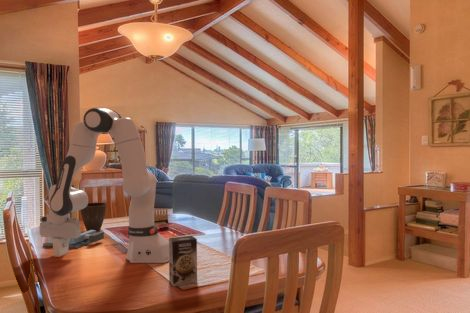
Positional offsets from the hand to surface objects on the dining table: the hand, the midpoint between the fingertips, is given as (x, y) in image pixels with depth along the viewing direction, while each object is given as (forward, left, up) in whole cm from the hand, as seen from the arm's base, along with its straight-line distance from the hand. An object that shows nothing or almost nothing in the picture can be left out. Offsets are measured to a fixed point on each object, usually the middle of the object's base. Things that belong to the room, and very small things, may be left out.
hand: (60, 246), depth 169 cm
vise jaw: (-1, -20, -2) cm, 20 cm away
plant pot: (+15, -46, -4) cm, 49 cm away
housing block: (0, 0, -4) cm, 4 cm away
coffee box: (-70, +21, -4) cm, 73 cm away
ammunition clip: (-22, -59, -4) cm, 63 cm away
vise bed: (+9, -20, -4) cm, 22 cm away
